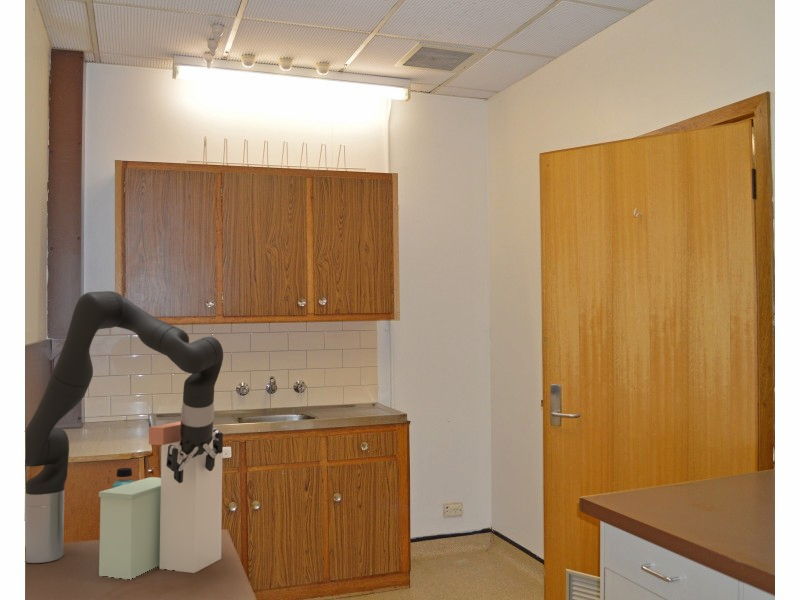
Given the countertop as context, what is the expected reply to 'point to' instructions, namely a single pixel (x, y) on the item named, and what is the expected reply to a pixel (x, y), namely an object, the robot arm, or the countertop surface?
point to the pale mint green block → (130, 529)
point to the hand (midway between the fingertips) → (194, 475)
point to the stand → (190, 514)
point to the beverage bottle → (123, 473)
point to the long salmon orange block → (165, 434)
